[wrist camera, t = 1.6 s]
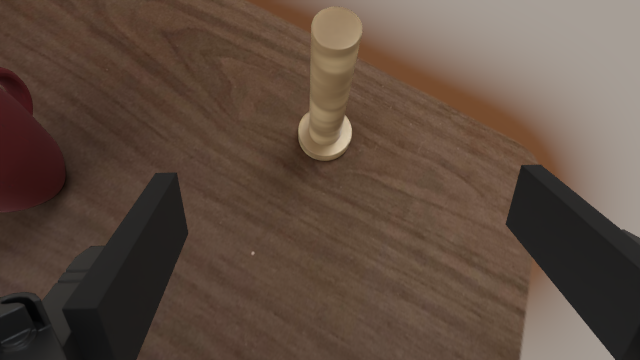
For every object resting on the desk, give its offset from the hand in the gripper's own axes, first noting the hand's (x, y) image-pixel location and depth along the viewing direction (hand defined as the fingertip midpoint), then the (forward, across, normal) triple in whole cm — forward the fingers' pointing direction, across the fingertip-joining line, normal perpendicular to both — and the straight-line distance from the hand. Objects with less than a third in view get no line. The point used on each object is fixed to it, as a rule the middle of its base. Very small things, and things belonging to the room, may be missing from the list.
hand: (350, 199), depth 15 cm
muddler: (+18, 0, -5) cm, 19 cm away
